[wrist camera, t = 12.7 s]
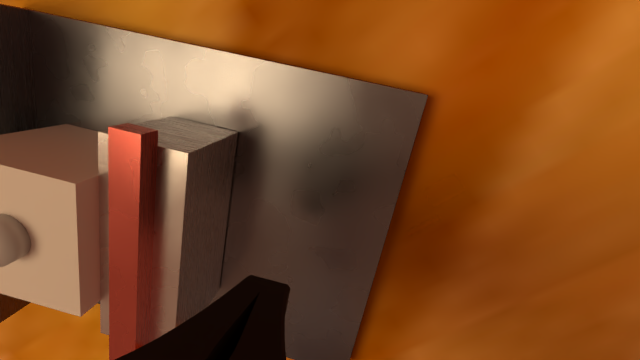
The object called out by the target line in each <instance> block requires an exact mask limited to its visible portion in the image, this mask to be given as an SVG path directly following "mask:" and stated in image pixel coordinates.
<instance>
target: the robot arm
mask: <svg viewBox="0 0 640 360" xmlns="http://www.w3.org/2000/svg"><path fill="white" fill-rule="evenodd" d="M289 294H290V287H289V285H288V284H284V283H280V282H277V281H273V280H269V279H265V278H261V277H258V276H254V275H249V276H247V277H246V278H245V279H243V280H242V281H241V282H240V283H238V284H237V285H236V286H234V287H233V288H232V289H231V290H229V291H228V292H227V293H225V294H224V295H223V296H221V297H220V298H219V299H217V300H216V301H214V302H213V303H212V304H210V305H209V306H207V307H206V308H205V309H203V310H202V311H200V312H199V313H197V314H196V315H194V316H193V317H191V318H190V319H188V320H186V321H185V322H183V323H182V324H180V325H179V326H177V327H175V328H174V329H172V330H170V331H169V332H167V333H165V334H164V335H162V336H160V337H158V338H156V339H155V340H153V341H151V342H149V343H147V344H145V345H143V346H142V347H140V348H138V349H136V350H134V351H132V352H130V353H128V354H125V355H123V356H121V357H119V358H117V359H115V360H286V352H285V314H286V309H287V304H288V299H289Z"/></svg>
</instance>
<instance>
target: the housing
mask: <svg viewBox="0 0 640 360" xmlns="http://www.w3.org/2000/svg"><path fill="white" fill-rule="evenodd" d="M0 293H1V294H4V295H8V296H11V297H14V298H18V299H21V300H25V301H28V302H32V303H35V304H39V305H42V306H45V307H49V308H52V309H56V310H59V311H63V312H66V313H69V314H73V315H76V316H80V317H81V316H82V315H83V314H85V313H86V312H87V311H88V310H89V309H91V308H92V307H93V306H94V305H95V304H97V303H98V302H99V301H100V244H99V180H98V131H94V130H90V129H85V128H81V127H77V126H73V125H69V124H63V125H57V126H51V127H45V128H39V129H32V130H26V131H20V132H14V133H8V134H2V135H0Z"/></svg>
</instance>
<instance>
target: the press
mask: <svg viewBox="0 0 640 360" xmlns="http://www.w3.org/2000/svg"><path fill="white" fill-rule="evenodd" d="M427 97H428V95H426V94H423V93H418V92H413V91H409V90H404V89H399V88H395V87H390V86H385V85H381V84H376V83H371V82H367V81H362V80H357V79H352V78H348V77H343V76H338V75H334V74H329V73H324V72H320V71H315V70H310V69H306V68H301V67H296V66H292V65H287V64H282V63H278V62H273V61H268V60H264V59H259V58H254V57H249V56H245V55H240V54H235V53H231V52H226V51H221V50H217V49H212V48H207V47H203V46H198V45H193V44H189V43H184V42H179V41H175V40H170V39H165V38H161V37H156V36H151V35H147V34H142V33H137V32H132V31H128V30H123V29H118V28H114V27H109V26H104V25H100V24H95V23H90V22H86V21H81V20H76V19H72V18H67V17H62V16H58V15H53V14H48V13H44V12H39V11H34V10H29V9H25V8H20V7H15V6H9V5H4V4H0V135H2V134H8V133H14V132H20V131H26V130H32V129H39V128H45V127H51V126H57V125H63V124H69V125H73V126H77V127H81V128H85V129H90V130H94V131H103V130H108V127H110V126H115V125H120V124H125V123H130V124H137V123H141V122H146V121H151V120H156V119H160V118H165V117H170V116H171V117H175V118H180V119H184V120H188V121H192V122H197V123H201V124H205V125H210V126H214V127H218V128H223V129H227V130H231V131H235V132H238V136H237V145H236V153H235V161H234V169H233V178H232V186H231V194H230V202H229V211H228V219H227V227H226V235H225V243H224V252H223V260H222V268H221V276H220V285H219V291H218V292H217V294H216V295H215V296H214V298H213V299H212V301H211V302H210V303H209V305H210V304H212V303H213V302H214V301H216V300H217V299H219V298H220V297H221V296H223V295H224V294H225V293H227V292H228V291H229V290H231V289H232V288H233V287H234V286H236V285H237V284H238V283H240V282H241V281H242V280H243V279H245V278H246V277H247V276H249V275H254V276H258V277H261V278H265V279H269V280H273V281H277V282H280V283H284V284H288V285H289V287H290V294H289V299H288V304H287V309H286V314H285V352H286V357H288V358H291V359H295V360H350V357H351V353H352V350H353V347H354V343H355V340H356V336H357V333H358V330H359V326H360V323H361V320H362V316H363V313H364V309H365V306H366V303H367V299H368V296H369V293H370V289H371V286H372V282H373V279H374V276H375V272H376V269H377V266H378V262H379V259H380V255H381V252H382V249H383V245H384V242H385V239H386V235H387V232H388V228H389V225H390V222H391V218H392V215H393V212H394V208H395V205H396V201H397V198H398V195H399V191H400V188H401V185H402V181H403V178H404V175H405V171H406V168H407V164H408V161H409V158H410V154H411V151H412V148H413V144H414V141H415V137H416V134H417V131H418V127H419V124H420V121H421V117H422V114H423V110H424V107H425V104H426V100H427ZM29 303H31V302H28V301H25V300H21V299H18V298H14V297H11V296H8V295H4V294H1V293H0V323H1V322H2V321H4V320H5V319H7V318H8V317H10V316H11V315H13V314H14V313H16V312H17V311H19V310H20V309H22V308H23V307H25V306H26V305H28V304H29ZM98 303H99V304H100V301H99V302H98ZM209 305H208V306H209Z"/></svg>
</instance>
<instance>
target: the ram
mask: <svg viewBox="0 0 640 360" xmlns="http://www.w3.org/2000/svg"><path fill="white" fill-rule="evenodd" d="M237 136H238V132H235V131H231V130H227V129H223V128H218V127H214V126H210V125H205V124H201V123H197V122H192V121H188V120H184V119H180V118H175V117H171V116H170V117H165V118H160V119H156V120H151V121H146V122H141V123H137V124H130V123H125V124H120V125H115V126H110V127H108V130H103V131H98V180H99V244H100V309H101V333H104V334H107V335H109V360H115V359H117V358H119V357H121V356H123V355H125V354H128V353H130V352H132V351H134V350H136V349H138V348H140V347H142V346H143V345H145V344H147V343H149V342H151V341H153V340H155V339H156V338H158V337H160V336H162V335H164V334H165V333H167V332H169V331H170V330H172V329H174V328H175V327H177V326H179V325H180V324H182V323H183V322H185V321H186V320H188V319H190V318H191V317H193V316H194V315H196V314H197V313H199V312H200V311H202V310H203V309H205V308H206V307H207V306H208V305H209V303H210V302H211V301H212V299H213V298H214V296H215V295H216V294H217V292H218V291H219V285H220V276H221V268H222V260H223V252H224V243H225V235H226V227H227V219H228V211H229V202H230V194H231V186H232V178H233V169H234V161H235V153H236V145H237Z"/></svg>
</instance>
